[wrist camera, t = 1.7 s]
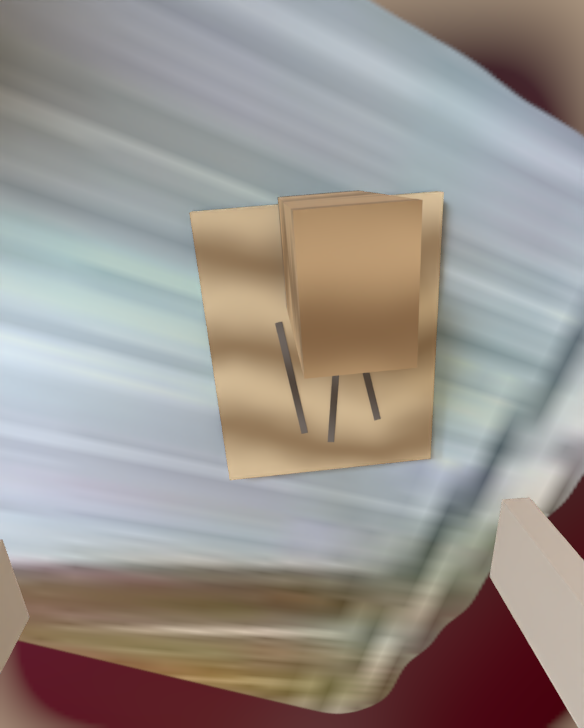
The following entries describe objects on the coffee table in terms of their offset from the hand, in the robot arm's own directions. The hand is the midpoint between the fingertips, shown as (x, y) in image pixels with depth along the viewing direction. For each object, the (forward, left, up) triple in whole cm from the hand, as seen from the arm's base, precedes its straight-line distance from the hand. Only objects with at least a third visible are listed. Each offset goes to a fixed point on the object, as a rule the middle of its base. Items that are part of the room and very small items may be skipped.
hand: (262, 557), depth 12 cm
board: (+2, +5, -22) cm, 23 cm away
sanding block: (-5, +5, -21) cm, 22 cm away
